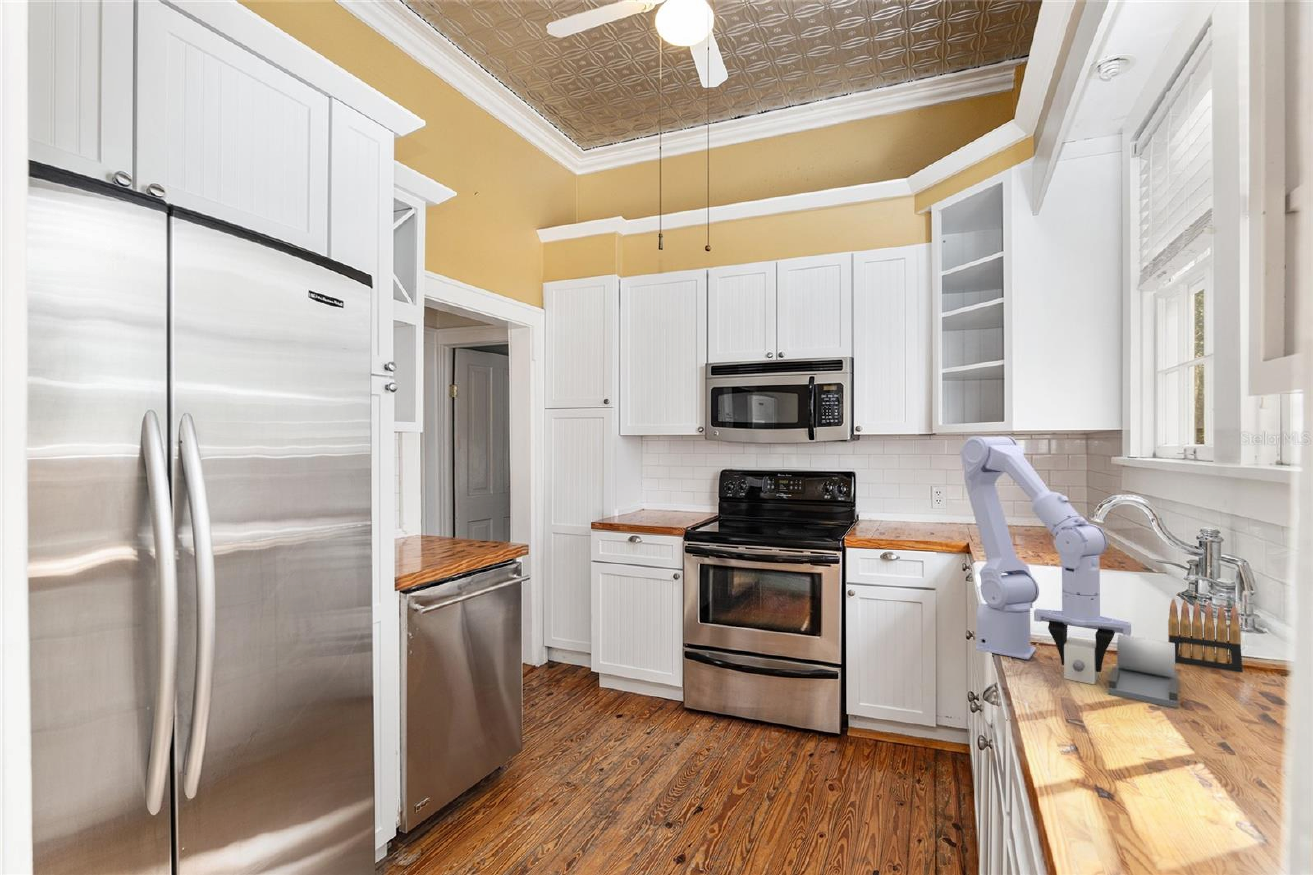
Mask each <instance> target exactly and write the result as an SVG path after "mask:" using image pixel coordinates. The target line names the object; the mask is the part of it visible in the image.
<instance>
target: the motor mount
mask: <svg viewBox="0 0 1313 875" xmlns="http://www.w3.org/2000/svg"><path fill="white" fill-rule="evenodd" d="M1116 661H1117V662H1116V665H1115V667H1112V669H1111V672H1110V674H1109V677H1108V688H1107V689H1108V690H1107V694H1108V695H1110V696H1114V697H1115V696H1116V697H1121V698H1124V699H1125V698H1126V699H1130V700H1133V701H1134V700H1135V701H1140V702H1143V703H1149V704H1154V705H1159V706H1164V707H1167V708H1168V707H1170V708H1173V709H1178V703H1179V702H1178V701H1179V687H1180V686H1179V684H1180V683H1179V682H1180V674H1179V673H1177V672H1176V662H1175V643H1171V642H1168V641H1163V640H1156V639H1150V638H1144V637H1137V636H1131V635H1130V636H1128V635H1123V634H1118V635H1117V646H1116Z"/></svg>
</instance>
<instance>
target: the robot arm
mask: <svg viewBox="0 0 1313 875" xmlns="http://www.w3.org/2000/svg"><path fill="white" fill-rule="evenodd" d="M1024 452H1025V451H1024V447H1022V446H1021V445H1020V444H1019V443H1018V441H1017V440H1016V439H1015V438H1014V437H1012V436H1009V435H1002V436H980V435H978V436H977V435H973V436H970V437H968V438H967V439H966V440H965V442H964V444H963V446H962V447H961V449H960V451H959V455H960V458H961V463H962V465H963V469H964V474H963V475H964V476H963V477H964V484H965V488H966V491H967V494H968V497H969V502H970V505H971V509H972V512H973V516H974V519H975V522H976V526H977V530H978V533H979V537H980V540H981V544H982V548H983V551H984V555H985V558H986V563H985V564H984V566H982V568H981V569H980V571H979V576H980V593H981V596H982V598H983V600H984V602H985V603H980V604H979V605H978V607H977V612H976V647H975V649H976V651H980V652H985V653H991V654H997V655H1002V656H1006V657H1012V658H1018V659H1023V660H1030V659H1031V657H1032V656H1033V654H1034V653H1035V652H1036V650H1037V647H1035V646H1031V644H1032V642H1031V639H1032V638H1031V609H1033V604H1034V603H1035V602H1036V601H1037V600H1038V598H1039V597H1040V596H1039V595H1040V587H1039V584H1038V582H1037V580H1036V578H1034V577H1033V575H1032V573H1031V570H1030V568H1029V566H1028V565H1027V564H1026V563H1025V562H1024V561H1022V560H1021V559H1019V558H1018V556H1017V555H1016V551H1015V548H1014V545H1013V540H1012V537H1011V534H1010V532H1009V527H1008V524H1007V520H1006V518H1005V514H1004V511H1003V507H1002V504H1001V500H1000V497H999V494H998V490H997V487H996V482H997V480H998V479H999V477H1000V478H1001V476H1002V475H1003V474H1004V473H1006V474H1007V475H1008V477H1010V479H1012V480H1013V481H1014V483H1016V484H1017V486H1018V487H1019V488H1020V489H1021V490H1022V491H1023V492H1024V493H1025V494H1026V495H1027V496H1028V497H1029V498H1030V499H1031V500H1032V501H1033V502H1032V507H1031V508H1032V512H1033V513H1035V516H1037V518H1038V519H1039V520H1040V521H1041V522H1042V523H1043V525H1044V526H1045V527H1046V528H1047V530H1048V531H1049V532H1050V534H1051V535H1052V536H1053V537H1054V538H1055V539H1053V540H1052V541H1053V542H1052V543H1053V546H1054V549H1055V551H1056V553H1057V554H1058V555H1059V563H1060V564H1061V610H1055V609H1054V610H1052V609H1044V608H1043V609H1042V608H1040V609H1039V608H1035V609H1034V610H1033V620H1034V621H1035V622H1039V623H1040V622H1045V623H1048V626H1047V628H1048V631H1049V632H1048V633H1050V635H1051V637H1052V639H1053V641H1054V643H1055V646H1056V648H1057V650H1058V654H1059V658H1060V662H1061V666H1064V644H1065V643H1066V641H1067V640H1068V626H1070V627H1076V628H1077V627H1078V628H1079V627H1080V628H1083V629H1084V628H1085V629H1089V630H1090V629H1092V630H1096V632H1095V634H1094V635H1095V641H1096V672H1098V673H1101V672H1102V670H1103V669H1102V667H1103V661H1104V658H1105V654H1106V652H1107V650H1108V647H1109V645H1110V644H1111V643H1112V640H1113V639H1114V636H1115V634H1116V633H1117V634H1121V635H1125V636H1131V635H1132V622H1130V621H1124V620H1119V619H1114V618H1111V617H1105V616H1101V595H1100V594H1101V589H1100V588H1101V584H1100V583H1101V581H1100V580H1101V579H1100V578H1101V576H1100V575H1101V573H1100V572H1101V571H1100V569H1101V568H1100V565H1101V564H1100V563H1101V562H1100V555H1101V556H1102V555H1103V554H1104V553H1105V552H1106V550H1107V547H1108V539H1107V536H1106V534H1105V532H1104V531H1103V529H1102V528H1101V527H1100V526H1098V525H1096V524H1093V523H1092V524H1091V523H1089V522H1088V521H1087V519H1085V518H1084V517H1083V516H1081V515H1080V514H1079V513H1078V512H1077V511H1076V510H1075V508H1074V507H1073V506H1072V505H1071V503H1070V502H1069V501H1070V499H1069V498H1068V496H1066V495H1064V494H1063V495H1062V494H1061V492H1058V491H1057V492H1056V491H1051V490H1050V489H1049V488H1048V487H1047V485H1046V484H1045V482H1044V481H1043V480H1042V479H1041V477H1040V475H1038V473H1037V472H1036V470H1035V469H1034V468H1033V466H1032V464H1030V462H1029V461H1028V460H1027V459H1026V457H1025V456H1024V454H1025V453H1024Z"/></svg>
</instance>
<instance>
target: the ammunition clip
mask: <svg viewBox="0 0 1313 875" xmlns="http://www.w3.org/2000/svg"><path fill="white" fill-rule="evenodd" d="M1177 605H1178V604H1177V602H1176V599H1175V598H1172V599H1171V602H1170V605H1169V613H1168V614H1169V615H1168V616H1169V617H1168V621H1167V622H1168V623H1167V626H1168V627H1167V628H1168V629H1167V630H1168V632H1167V635H1168V637H1167V638H1168V639H1167V640H1168V641H1167V642H1171V643H1175V664H1176V663H1178V664H1183V665H1190V666H1195V665H1196V666H1197V667H1203V668H1209V669H1210V668H1211V669H1216V670H1223V671H1230V672H1235V673H1236V672H1237V673H1243V671H1244V670H1243V660H1242V659H1243V657H1242V647H1241V645H1242V643H1241V642H1242V641H1241V640H1242V639H1241V638H1242V636H1241V635H1242V634H1241V627H1240V621H1239V620H1240V619H1239V618H1240V617H1239V612H1238V608H1237V607H1236V605H1233V606H1232V607H1231V610H1230V616H1229V626H1227V624H1228V623H1227V615H1226V610H1225V607H1224V604H1223V603H1222V604H1219V606H1218V610H1217V619H1216V626H1215V620H1214V612H1213V607H1212V604H1211V603H1210V602H1208V603H1207V604H1206V606H1205V610H1204V621H1203V620H1202V611H1201V610H1202V609H1201V606H1200V604H1199V602H1198V601H1197V600H1196V601H1195V603H1194V606H1193V610H1192V621H1191V618H1190V608H1189V604H1188V601H1187V600H1183V602H1182V605H1181V612H1180V621H1179V615H1178V613H1179V612H1178V606H1177Z"/></svg>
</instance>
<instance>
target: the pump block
mask: <svg viewBox="0 0 1313 875" xmlns="http://www.w3.org/2000/svg"><path fill="white" fill-rule="evenodd" d="M1063 669H1064V670H1063V672H1064V677H1063V678H1064V679H1065V680H1069V681H1075V682H1081V683H1085V684H1089V685H1095V684H1096V682H1097V681H1098V680H1097V679H1098V677H1099V675H1100V674H1099V672H1096V640H1095V641H1094V640H1088V639H1083V638H1077V637H1070V636H1069V637H1067V641H1066V643H1065V644H1064V665H1063Z"/></svg>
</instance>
